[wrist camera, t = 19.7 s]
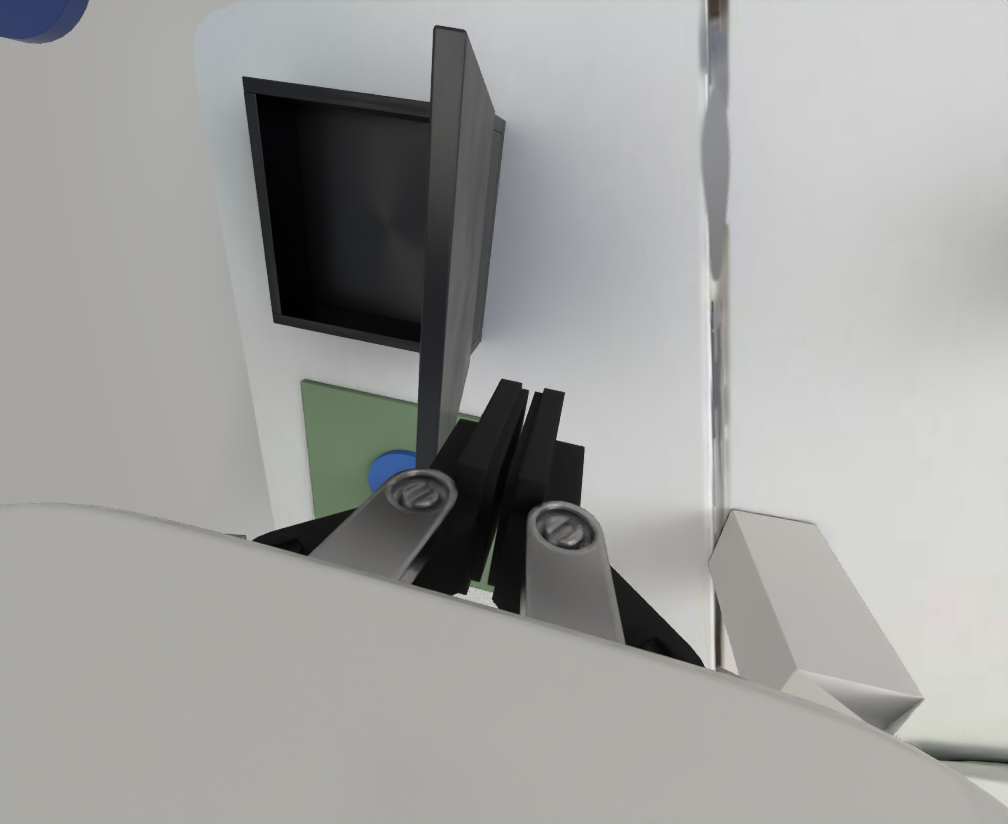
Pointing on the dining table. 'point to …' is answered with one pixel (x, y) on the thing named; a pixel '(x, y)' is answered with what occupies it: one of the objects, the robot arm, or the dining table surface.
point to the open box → (349, 209)
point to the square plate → (985, 776)
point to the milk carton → (806, 622)
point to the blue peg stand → (389, 466)
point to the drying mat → (356, 445)
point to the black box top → (451, 233)
